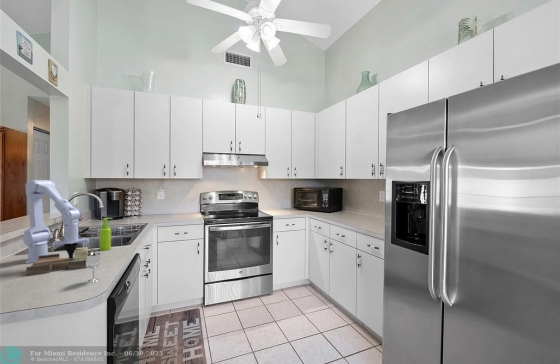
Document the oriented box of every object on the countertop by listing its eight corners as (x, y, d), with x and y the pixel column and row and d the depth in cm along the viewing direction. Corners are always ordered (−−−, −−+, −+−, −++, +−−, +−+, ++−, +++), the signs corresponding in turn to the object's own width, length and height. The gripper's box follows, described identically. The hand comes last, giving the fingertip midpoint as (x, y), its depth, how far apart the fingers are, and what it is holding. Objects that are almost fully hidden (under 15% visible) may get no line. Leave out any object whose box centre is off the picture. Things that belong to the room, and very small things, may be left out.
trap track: (39, 262, 129) (39, 254, 129) (93, 256, 141) (93, 248, 141) (26, 275, 113) (26, 266, 113) (88, 267, 125) (88, 258, 125)
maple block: (76, 257, 132) (76, 248, 132) (87, 256, 134) (87, 247, 134) (74, 260, 127) (74, 250, 127) (86, 258, 130) (86, 249, 130)
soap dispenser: (114, 248, 158) (115, 217, 157) (103, 251, 151) (104, 219, 151) (108, 247, 160) (108, 216, 159) (97, 250, 153) (97, 218, 153)
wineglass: (91, 278, 112) (91, 252, 112) (104, 278, 113) (104, 252, 113) (82, 283, 107) (82, 256, 106) (95, 283, 107) (96, 256, 107)
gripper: (50, 235, 121) (50, 262, 121) (87, 232, 129) (87, 258, 129) (54, 232, 127) (54, 258, 127) (89, 229, 135) (89, 254, 135)
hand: (71, 257), depth 129 cm, fingers closed
